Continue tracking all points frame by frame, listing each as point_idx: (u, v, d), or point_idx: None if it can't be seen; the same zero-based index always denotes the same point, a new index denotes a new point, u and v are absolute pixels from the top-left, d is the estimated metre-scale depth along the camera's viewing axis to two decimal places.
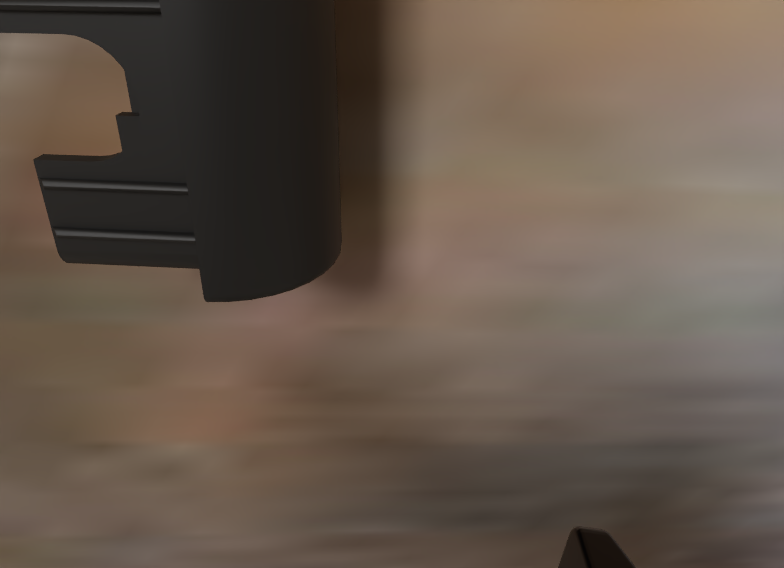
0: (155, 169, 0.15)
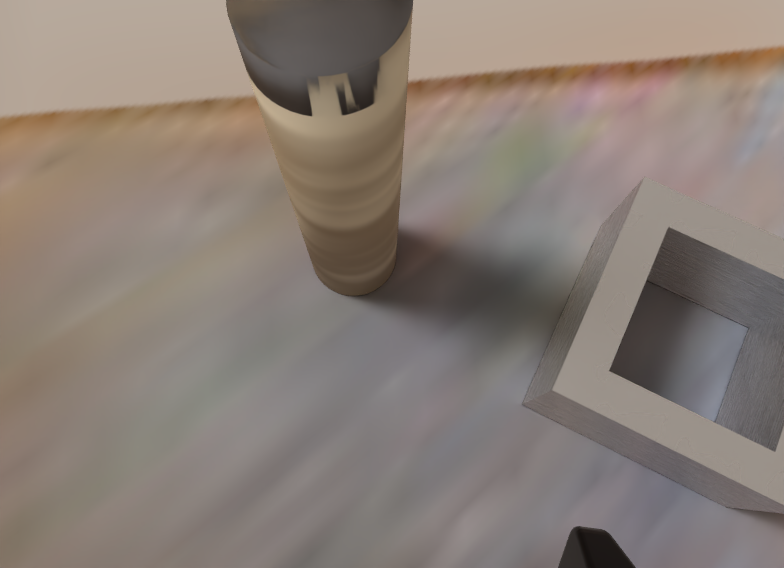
0: None
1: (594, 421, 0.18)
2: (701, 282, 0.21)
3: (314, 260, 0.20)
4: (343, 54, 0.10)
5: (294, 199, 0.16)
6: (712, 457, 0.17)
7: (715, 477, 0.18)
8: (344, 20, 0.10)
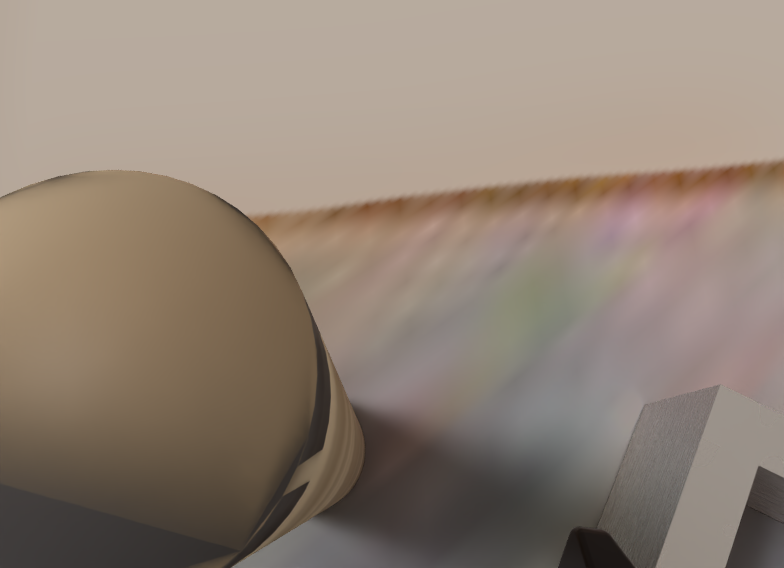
0: None
1: None
2: None
3: None
4: (128, 560, 0.04)
5: None
6: None
7: None
8: (140, 453, 0.04)
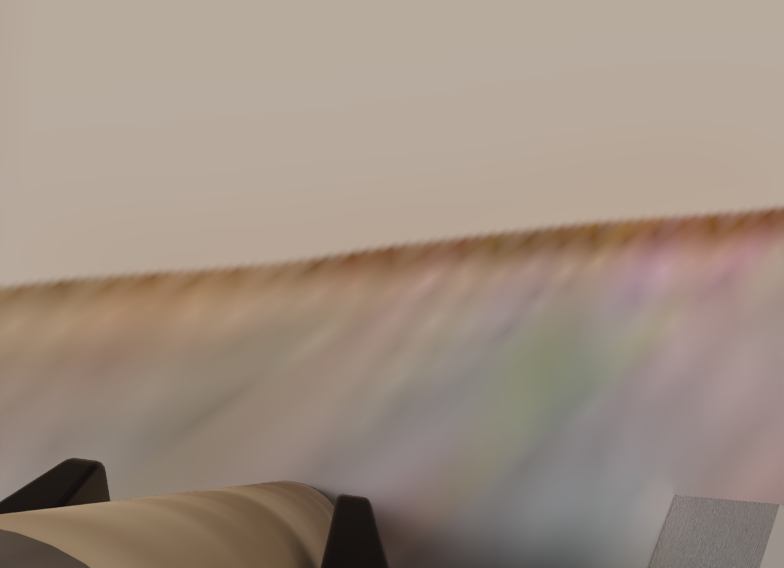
0: None
1: None
2: None
3: None
4: None
5: None
6: None
7: None
8: None
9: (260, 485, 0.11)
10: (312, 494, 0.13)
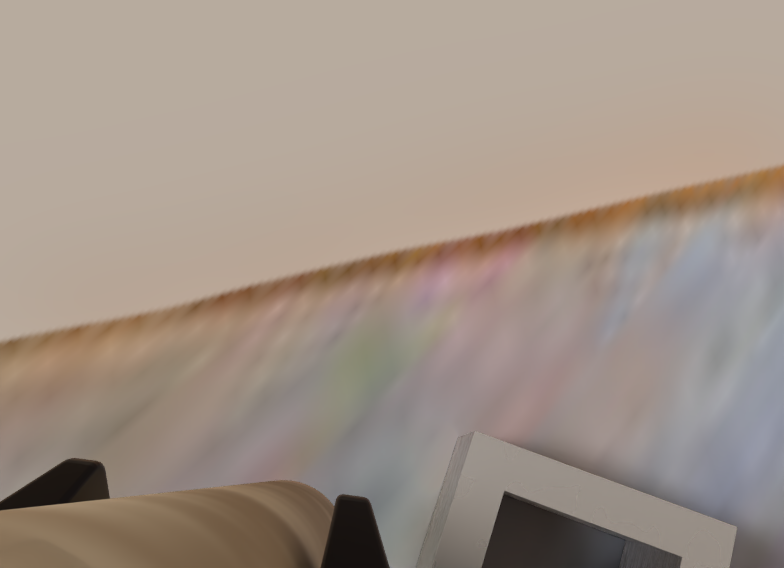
0: None
1: None
2: (561, 514, 0.19)
3: None
4: None
5: None
6: None
7: None
8: None
9: (258, 484, 0.11)
10: (311, 493, 0.13)
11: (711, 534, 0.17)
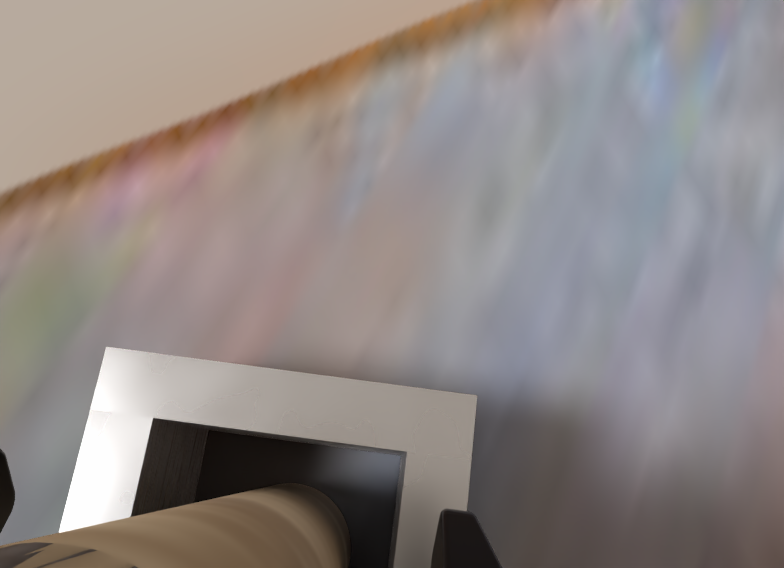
0: None
1: None
2: (289, 439, 0.14)
3: None
4: None
5: None
6: None
7: None
8: None
9: (269, 489, 0.12)
10: (317, 496, 0.14)
11: (443, 412, 0.12)
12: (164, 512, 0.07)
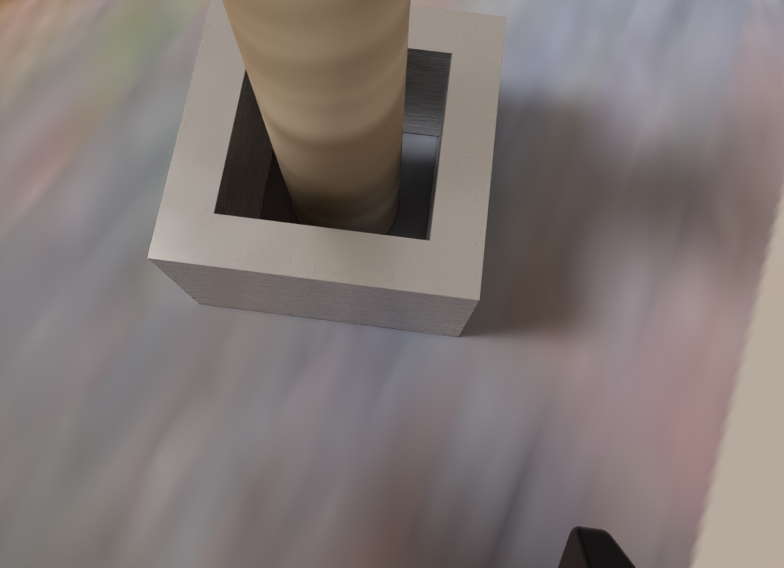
0: None
1: (235, 283, 0.15)
2: None
3: (295, 201, 0.16)
4: None
5: (260, 95, 0.11)
6: (357, 271, 0.14)
7: (380, 296, 0.14)
8: None
9: None
10: None
11: (479, 28, 0.16)
12: None
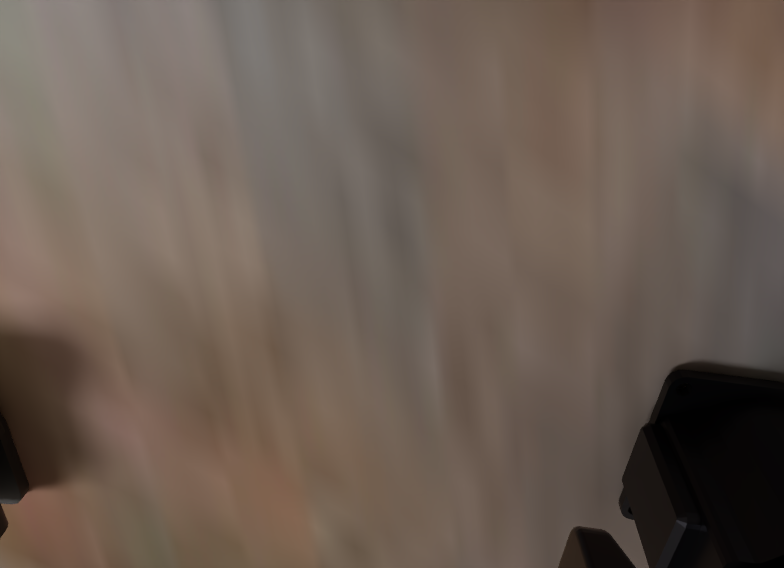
0: None
1: None
2: None
3: None
4: None
5: None
6: None
7: None
8: None
9: None
10: None
11: None
12: None
